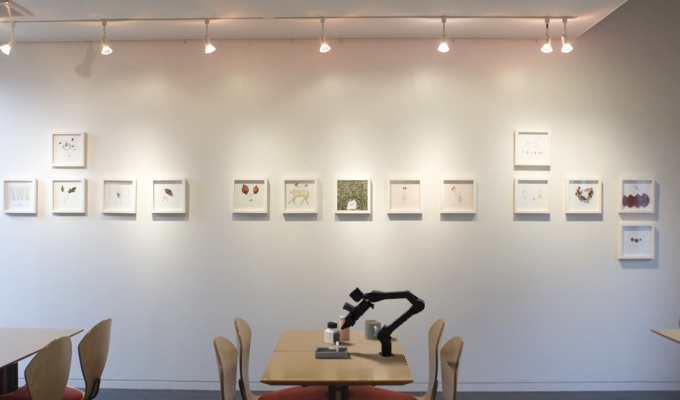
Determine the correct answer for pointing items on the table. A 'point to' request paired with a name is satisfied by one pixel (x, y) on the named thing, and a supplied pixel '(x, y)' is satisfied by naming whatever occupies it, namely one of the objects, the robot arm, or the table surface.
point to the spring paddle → (335, 347)
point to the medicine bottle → (332, 333)
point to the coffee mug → (372, 329)
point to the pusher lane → (330, 352)
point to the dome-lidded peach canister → (344, 330)
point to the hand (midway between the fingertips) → (342, 327)
